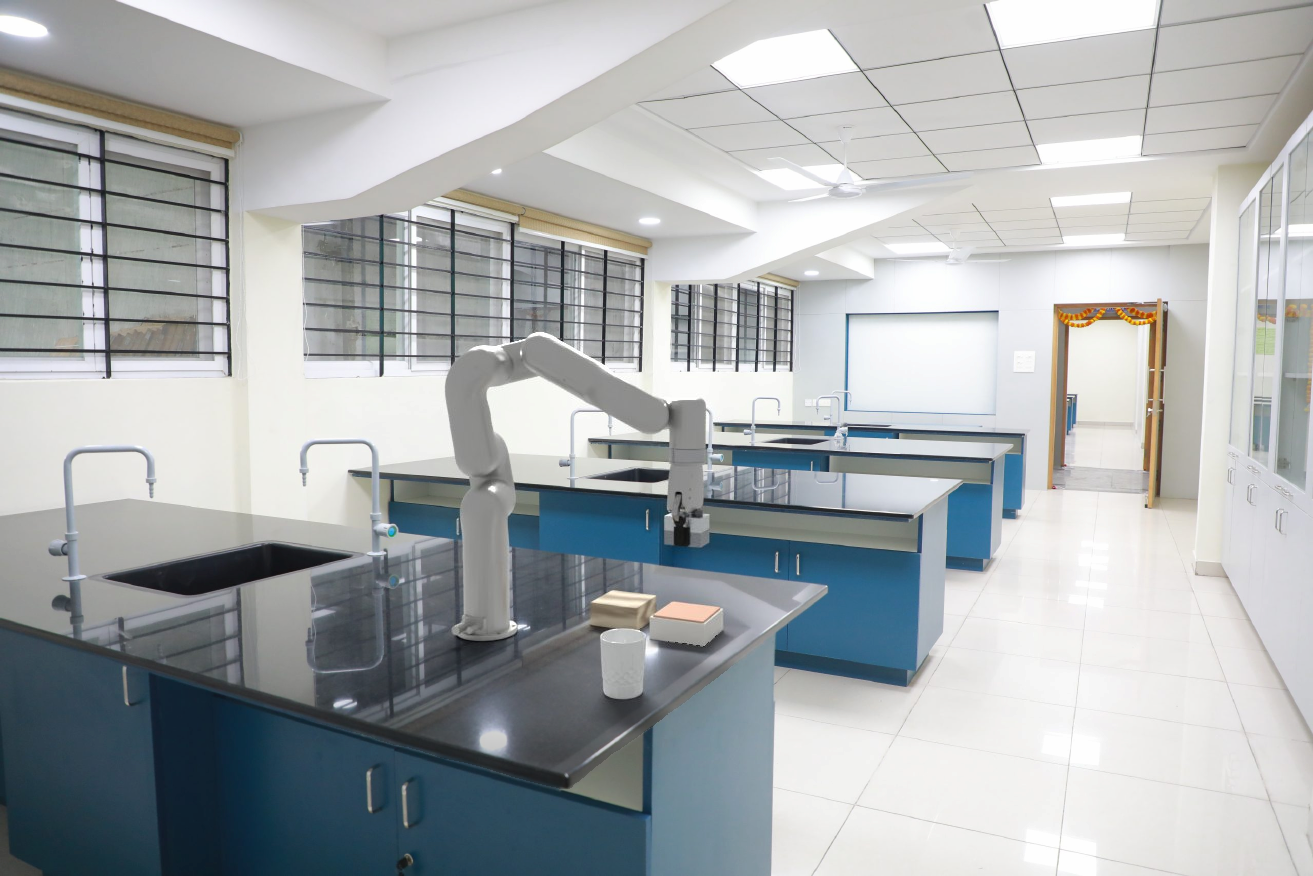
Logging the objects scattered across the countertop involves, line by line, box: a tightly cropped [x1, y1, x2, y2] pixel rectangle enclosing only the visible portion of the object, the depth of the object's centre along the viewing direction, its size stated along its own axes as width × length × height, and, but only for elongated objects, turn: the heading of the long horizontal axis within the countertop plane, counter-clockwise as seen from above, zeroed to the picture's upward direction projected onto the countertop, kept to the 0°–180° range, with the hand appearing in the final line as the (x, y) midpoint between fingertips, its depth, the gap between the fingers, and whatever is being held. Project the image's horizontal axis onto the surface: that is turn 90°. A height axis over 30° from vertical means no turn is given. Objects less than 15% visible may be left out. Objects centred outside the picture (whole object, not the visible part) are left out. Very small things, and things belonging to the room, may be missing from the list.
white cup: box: [599, 628, 647, 700], centre depth 144 cm, size 8×8×10 cm
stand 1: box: [589, 590, 658, 631], centre depth 184 cm, size 11×11×5 cm
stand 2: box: [649, 600, 724, 647], centre depth 176 cm, size 12×12×5 cm
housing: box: [663, 508, 710, 549], centre depth 174 cm, size 8×6×7 cm
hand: (686, 542), depth 174 cm, fingers closed on housing, 5 cm apart
